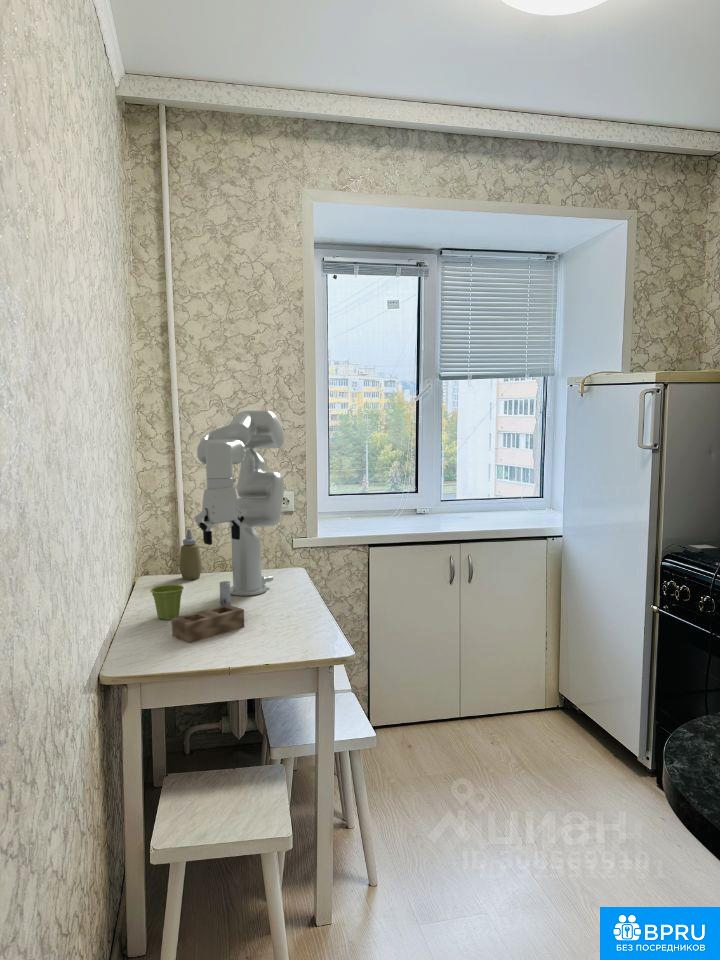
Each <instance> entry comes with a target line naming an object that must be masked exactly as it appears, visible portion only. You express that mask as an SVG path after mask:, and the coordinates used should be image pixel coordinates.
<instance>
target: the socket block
mask: <svg viewBox="0 0 720 960" xmlns="http://www.w3.org/2000/svg"><path fill="white" fill-rule="evenodd" d="M241 627H242V628H245V609H244V608H241V607H238V606H235V605H232V604H231V605H228V604H226V605H222V606H220V605H219V606H215V607H212V608H208V609H204V610H203V609H202V610H200V611H195V612H192V613H187V614H184V615H181V616H180V615H179V616H178V617H175V618H172V619H171V631H172V632H171V633H172V637H173V638H174V639H177V640H179V641H183V642H185V643H188V644H190V643H194V642H197V641H201V640H204V639H207V638H211V637H214V636H218V635H221V634H224V633H227V632H228V633H229V632H232V631H235V630H238V629H242V628H241Z"/></svg>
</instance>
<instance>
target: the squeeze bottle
mask: <svg viewBox="0 0 720 960" xmlns="http://www.w3.org/2000/svg"><path fill="white" fill-rule="evenodd" d="M193 537H194V536H193V533H192V530H191V529H187V530H186V537H185V538H184V539H182V545H181V546H180V555H179V571H180V575H181V576H182V579H183V580H186V579H187V581H192V579H193V580H196V579H199V578H200V576H201V574H202V570H203V565H202V559H201V553H200V545H198V544H197V539H196V538H193Z"/></svg>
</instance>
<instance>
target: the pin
mask: <svg viewBox="0 0 720 960" xmlns="http://www.w3.org/2000/svg"><path fill="white" fill-rule="evenodd" d="M230 587H231V582H230V581H229V580H228V581H227V580H224V581H220V582H219V598H220V599H219V601H220V603H219V604H220V605H219V606H222V605H226V604H228V605H231V606H232V599H231V594H230Z"/></svg>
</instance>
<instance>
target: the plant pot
mask: <svg viewBox="0 0 720 960" xmlns="http://www.w3.org/2000/svg"><path fill="white" fill-rule="evenodd" d="M183 591H184V586H183V585H180V584H164V585H157V586H154V587H152V588H150V592H151V594H152V597H153V598H154V599H153V600H154V603H155V609H156V615H157V618H158V619H159V620H172V618H176V617H180V613H181V612H180V609H181V599H182V594H183Z"/></svg>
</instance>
